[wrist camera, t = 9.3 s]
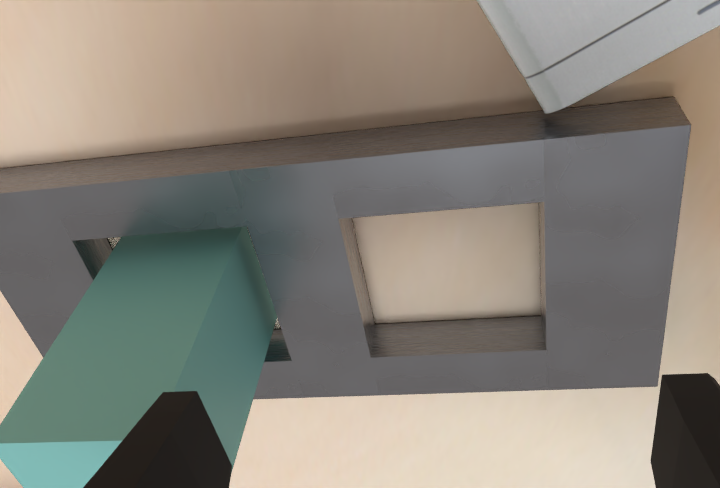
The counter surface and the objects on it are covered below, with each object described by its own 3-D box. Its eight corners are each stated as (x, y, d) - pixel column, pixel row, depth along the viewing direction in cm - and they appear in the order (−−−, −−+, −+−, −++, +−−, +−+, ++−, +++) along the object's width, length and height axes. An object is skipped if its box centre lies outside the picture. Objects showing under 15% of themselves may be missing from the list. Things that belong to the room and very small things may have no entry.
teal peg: (244, 220, 21) (153, 439, 14) (277, 316, 23) (211, 541, 17) (124, 231, 21) (-12, 443, 15) (168, 322, 24) (65, 540, 17)
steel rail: (673, 96, 17) (691, 124, 16) (646, 351, 22) (657, 386, 21) (-29, 171, 21) (-59, 199, 19) (91, 373, 26) (73, 404, 25)
